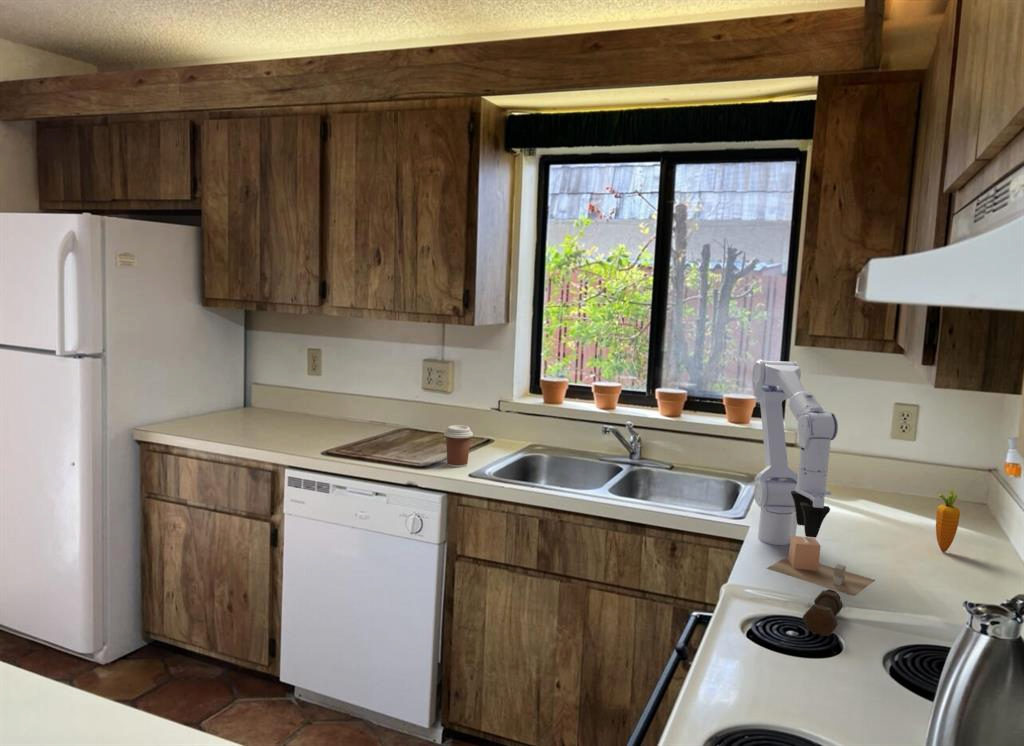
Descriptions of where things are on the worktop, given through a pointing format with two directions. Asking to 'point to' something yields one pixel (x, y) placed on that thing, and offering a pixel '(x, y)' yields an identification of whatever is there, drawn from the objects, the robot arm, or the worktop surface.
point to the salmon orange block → (804, 553)
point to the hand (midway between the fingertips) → (806, 530)
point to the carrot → (947, 521)
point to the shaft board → (825, 576)
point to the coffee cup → (458, 445)
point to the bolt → (823, 613)
